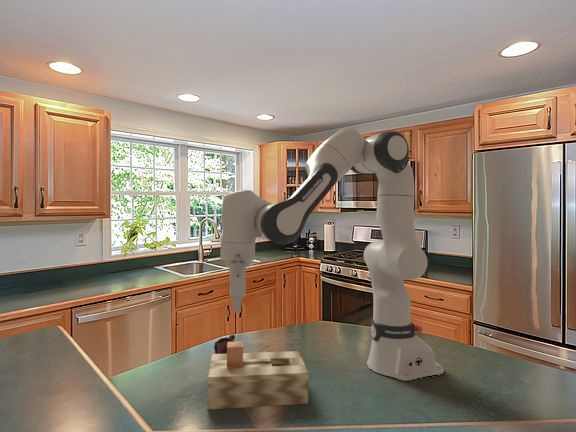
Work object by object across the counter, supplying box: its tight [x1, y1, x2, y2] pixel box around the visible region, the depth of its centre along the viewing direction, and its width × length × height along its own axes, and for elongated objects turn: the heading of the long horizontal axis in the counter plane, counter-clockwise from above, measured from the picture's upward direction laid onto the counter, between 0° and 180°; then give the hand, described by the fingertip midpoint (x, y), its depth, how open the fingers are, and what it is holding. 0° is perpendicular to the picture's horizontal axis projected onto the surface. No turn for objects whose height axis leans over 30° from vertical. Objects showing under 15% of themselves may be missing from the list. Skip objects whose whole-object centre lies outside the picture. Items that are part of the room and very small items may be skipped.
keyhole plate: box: [206, 350, 310, 410], centre depth 89 cm, size 24×14×8 cm, turn 99°
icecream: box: [213, 334, 236, 354], centre depth 110 cm, size 7×7×15 cm
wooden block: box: [227, 340, 244, 367], centre depth 88 cm, size 4×4×9 cm
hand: (236, 306), depth 89 cm, fingers open, 8 cm apart
